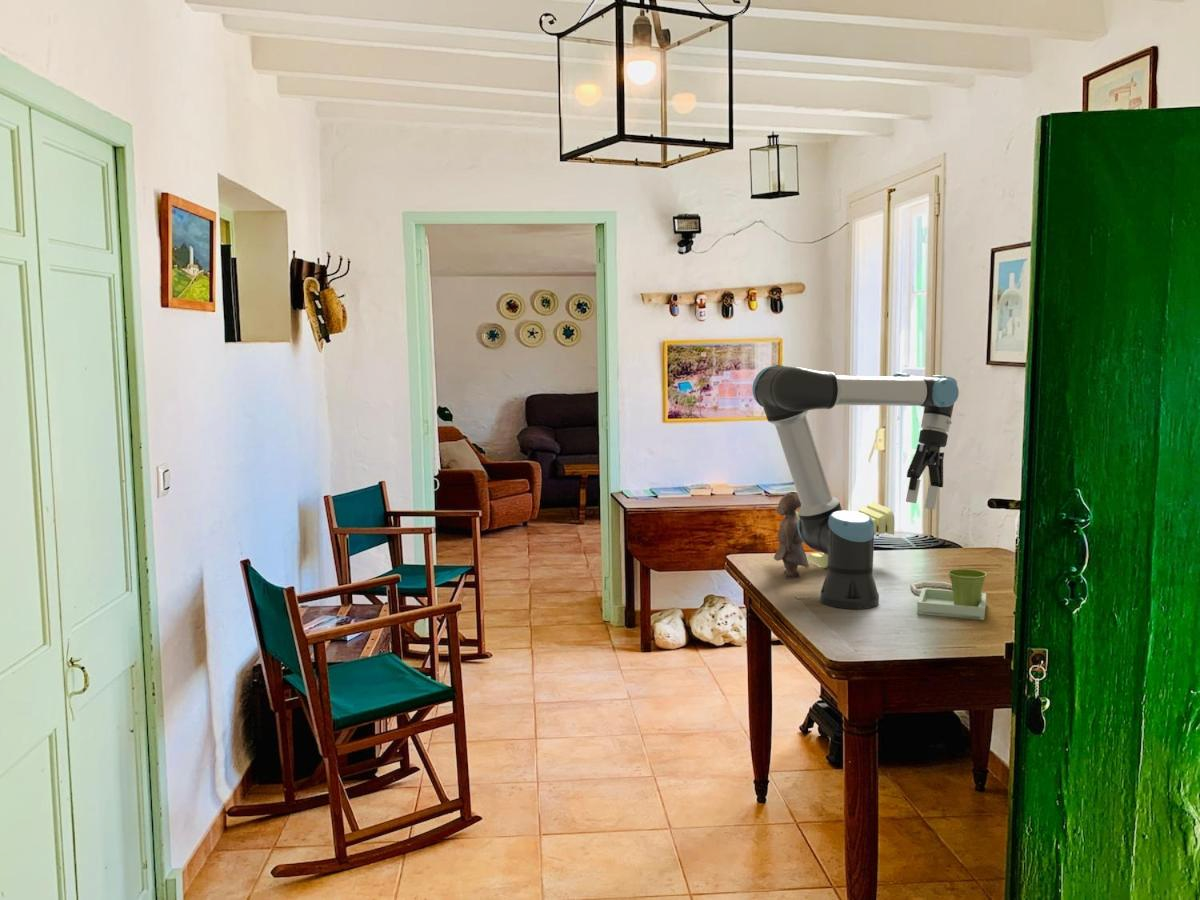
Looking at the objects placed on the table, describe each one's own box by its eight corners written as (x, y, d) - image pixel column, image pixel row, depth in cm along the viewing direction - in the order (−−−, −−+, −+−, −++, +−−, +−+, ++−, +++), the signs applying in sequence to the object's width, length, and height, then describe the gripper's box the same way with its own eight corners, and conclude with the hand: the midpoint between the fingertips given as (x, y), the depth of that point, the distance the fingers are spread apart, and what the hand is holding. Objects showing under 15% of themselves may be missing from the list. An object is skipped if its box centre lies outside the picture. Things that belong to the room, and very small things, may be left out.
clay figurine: (773, 570, 310) (775, 488, 307) (807, 572, 308) (809, 489, 305) (773, 581, 297) (775, 495, 294) (809, 582, 295) (810, 495, 293)
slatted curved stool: (798, 571, 309) (799, 513, 307) (780, 560, 324) (781, 504, 322) (893, 568, 313) (894, 510, 311) (871, 557, 329) (872, 501, 327)
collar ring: (945, 600, 275) (945, 596, 275) (901, 590, 285) (901, 586, 285) (973, 592, 283) (973, 588, 283) (930, 583, 294) (930, 579, 294)
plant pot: (962, 611, 261) (963, 578, 260) (939, 602, 270) (940, 570, 269) (993, 608, 264) (994, 575, 263) (969, 599, 273) (970, 567, 272)
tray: (984, 620, 256) (984, 608, 256) (917, 613, 262) (917, 602, 262) (985, 604, 271) (986, 593, 271) (922, 598, 277) (922, 587, 277)
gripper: (930, 424, 277) (916, 501, 276) (963, 440, 296) (949, 513, 295) (904, 421, 282) (889, 497, 281) (938, 437, 301) (924, 509, 300)
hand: (920, 505), depth 288 cm, fingers open, 13 cm apart
